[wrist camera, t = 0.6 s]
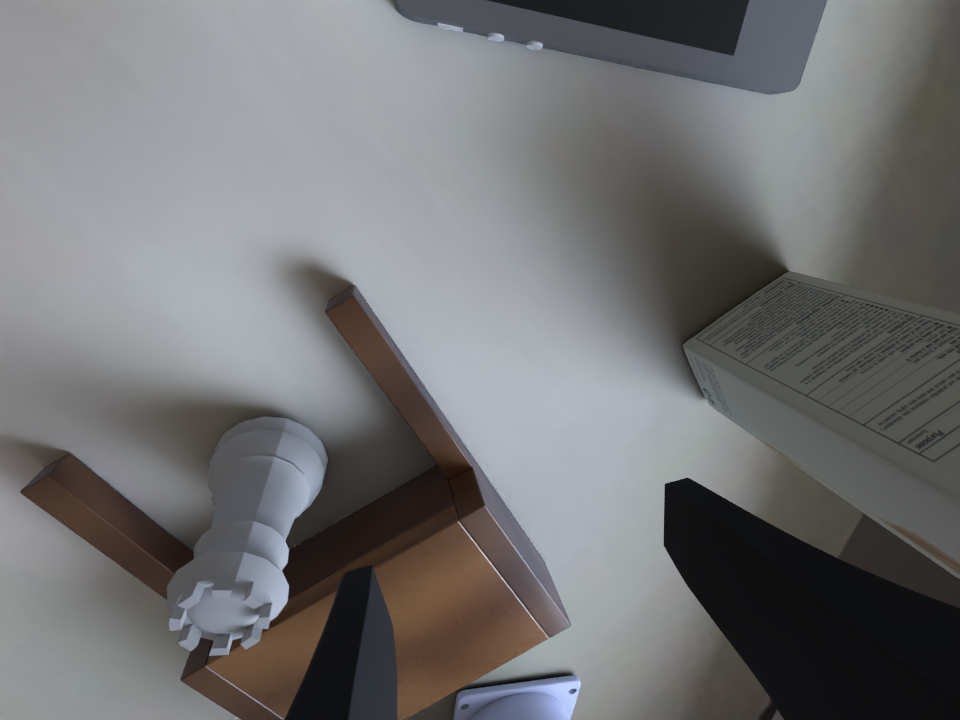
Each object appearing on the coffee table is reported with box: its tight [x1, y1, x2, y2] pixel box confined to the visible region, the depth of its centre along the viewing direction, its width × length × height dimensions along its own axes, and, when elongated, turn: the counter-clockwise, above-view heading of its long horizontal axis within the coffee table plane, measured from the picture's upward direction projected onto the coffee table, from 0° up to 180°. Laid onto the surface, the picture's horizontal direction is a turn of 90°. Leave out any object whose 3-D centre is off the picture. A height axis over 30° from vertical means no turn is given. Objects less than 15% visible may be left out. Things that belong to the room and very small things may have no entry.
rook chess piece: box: [167, 416, 328, 656], centre depth 17 cm, size 4×4×8 cm
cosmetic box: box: [683, 272, 960, 579], centre depth 17 cm, size 6×4×12 cm
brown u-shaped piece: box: [20, 285, 571, 720], centre depth 20 cm, size 18×14×4 cm
